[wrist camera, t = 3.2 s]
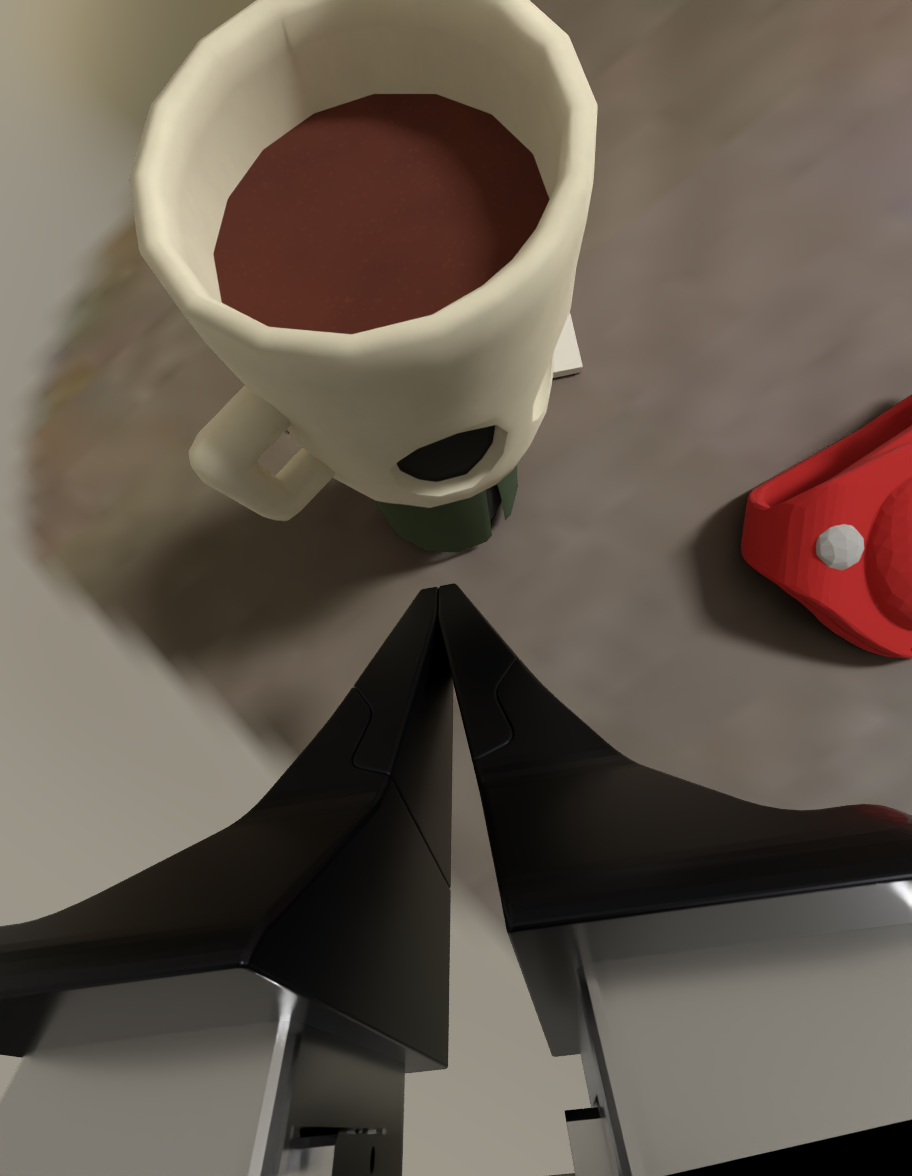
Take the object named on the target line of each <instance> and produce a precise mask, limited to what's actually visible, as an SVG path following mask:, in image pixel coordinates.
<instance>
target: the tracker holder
mask: <svg viewBox="0 0 912 1176" xmlns="http://www.w3.org/2000/svg"><path fill="white" fill-rule="evenodd" d="M741 552H742V555H743V557H744V559H745V561H746V562H747V563H748V564H749V565H750V566H751V567H753V568H754V569H755V570H757V571H758V572H759V573H761V574H762V575H763V576H765V577H766V578H768V579H769V580H771V581H772V582H774V583H776V584H777V585H778V586H779V587H781V588H782V589H783V590H784V591H785V592H786V593H788V594H789V595H791V596H792V597H794V598H795V599H796V600H798V601H799V602H800V603H801V604H803V605H804V606H805V607H806V608H807V609H809V610H810V611H811V612H812V613H813V614H814V615H815V616H816V618H817V619H818V620H819V621H820V622H821V623H822V624H824V625H825V626H826V627H827V628H829V629H830V630H831V631H833V632H834V633H836V634H837V635H839V636H841V637H842V638H844V639H845V640H847V641H849V642H850V643H852V644H854V645H856V646H858V647H860V648H862V649H864V650H866V651H868V652H872V653H875V654H878V655H882V656H887V657H899V658H900V657H902V658H912V395H910V396H909V397H907V398H906V399H904V400H903V401H901V402H900V403H898V404H896V405H895V406H893V407H892V408H890V409H889V410H887V411H886V412H884V413H883V414H881V415H880V416H878V417H877V418H875V419H874V420H872V421H871V422H869V423H868V424H867V425H865V426H864V427H862V428H861V429H859V430H858V431H856V432H854V433H852V434H850V435H849V436H847V437H845V438H843V439H841V440H840V441H838V442H836V443H834V444H833V445H831V446H829V447H827V448H825V449H824V450H822V451H820V452H818V453H816V454H815V455H813V456H811V457H809V458H808V459H806V460H804V461H802V462H800V463H799V464H797V465H795V466H793V467H791V468H790V469H788V470H786V471H784V472H783V473H781V474H779V475H777V476H775V477H774V478H772V479H770V480H768V481H767V482H765V483H763V484H761V485H760V486H758V487H756V488H755V489H753V490H752V491H751V492H750V493H749V495H748V498H747V504H746V512H745V519H744V526H743V534H742V541H741Z"/></svg>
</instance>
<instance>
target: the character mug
mask: <svg viewBox="0 0 912 1176" xmlns="http://www.w3.org/2000/svg"><path fill="white" fill-rule="evenodd" d="M596 124H597V103H596V101H595V98H594V96H593V93H592V91H591V89H590V86H589V84H588V81H587V79H586V76H585V74H584V72H583V69H582V67H581V64H580V62H579V60H578V57H577V55H576V52H575V50H574V48H573V45H572V43H571V40H570V38H569V36H568V35H567V34H566V33H565V32H564V31H563V30H562V29H561V28H559V27H558V26H557V25H556V24H555V23H554V22H553V21H552V20H551V19H549V18H548V17H547V16H546V15H545V14H544V13H543V12H542V11H541V10H539V9H538V8H537V7H536V6H535V5H534V4H533V3H532V2H531V1H529V0H256V1H255V2H253V3H252V4H251V5H249V6H248V7H246V8H245V9H243V10H242V11H241V12H239V13H238V14H236V15H235V16H233V17H232V18H231V19H229V20H228V21H226V22H225V23H223V24H222V25H221V26H219V27H218V28H216V29H215V30H213V31H212V32H210V33H209V34H208V35H206V36H205V37H203V38H202V39H200V40H199V41H198V43H197V44H196V45H195V47H194V48H193V50H192V51H191V52H190V53H189V55H188V56H187V57H186V59H185V60H184V62H183V63H182V64H181V65H180V67H179V68H178V69H177V71H176V72H175V73H174V75H173V76H172V77H171V79H170V80H169V81H168V83H167V84H166V85H165V87H164V88H163V89H162V91H161V92H160V93H159V95H158V96H157V97H156V99H155V100H154V102H153V103H152V104H151V106H150V109H149V113H148V116H147V119H146V123H145V126H144V130H143V133H142V137H141V140H140V144H139V147H138V150H137V154H136V157H135V161H134V164H133V167H132V171H131V174H130V178H129V181H130V188H131V196H132V203H133V210H134V217H135V225H136V232H137V239H138V247H139V252H140V254H141V255H142V257H143V258H144V259H145V261H146V262H147V264H148V265H149V267H150V268H151V269H152V271H153V272H154V274H155V275H156V276H157V278H158V279H159V281H160V282H161V283H162V285H163V286H164V288H165V289H166V291H167V292H168V293H169V295H170V296H171V298H172V299H173V300H174V302H175V303H176V305H177V306H178V307H179V309H180V310H181V312H182V313H183V315H184V316H185V317H186V318H187V320H188V321H189V322H190V323H191V325H192V326H193V327H194V328H195V330H196V331H197V332H198V334H199V335H200V336H201V337H202V339H203V340H204V341H205V342H206V344H207V345H208V346H209V347H210V348H211V349H212V350H213V351H214V352H215V353H216V355H217V356H218V357H219V358H220V359H221V360H222V361H223V362H224V363H225V364H226V365H227V366H228V367H229V368H230V369H231V370H232V372H233V373H234V374H235V375H236V376H237V377H238V378H239V379H240V380H241V381H242V382H243V383H244V384H245V386H244V387H243V388H242V389H241V390H240V391H239V392H238V393H237V394H236V395H235V396H234V397H233V398H232V399H231V400H230V401H229V402H228V403H227V404H226V405H225V406H224V407H223V408H222V409H221V410H220V411H219V412H218V413H217V414H216V415H215V416H214V417H213V419H212V420H211V421H210V422H209V423H208V424H207V425H206V426H205V427H204V428H203V429H202V430H201V431H200V432H199V433H198V435H197V437H196V439H195V441H194V443H193V445H192V447H191V449H190V451H189V458H190V465H191V467H192V468H193V469H194V471H195V472H196V474H197V475H198V476H199V478H200V479H201V480H202V482H204V483H205V484H207V485H209V486H211V487H212V488H214V489H216V490H217V491H219V492H221V493H223V494H224V495H226V496H228V497H230V498H231V499H233V500H235V501H237V502H238V503H240V504H242V505H243V506H245V507H247V508H249V509H250V510H252V511H254V512H256V513H257V514H259V515H261V516H263V517H266V518H269V519H273V520H278V521H288V520H290V519H291V518H292V517H294V516H295V515H296V514H298V513H299V512H301V510H302V509H303V508H304V507H305V506H306V505H307V504H308V503H309V502H310V501H311V500H312V499H313V498H314V497H315V496H316V495H317V493H318V492H319V491H320V490H321V489H322V488H323V487H324V486H325V485H326V484H327V483H328V482H329V481H330V480H331V479H332V478H334V479H336V480H338V481H340V482H341V483H343V484H345V485H347V486H349V487H351V488H353V489H355V490H356V491H358V492H360V493H362V494H364V495H366V496H368V497H370V498H371V499H373V500H375V501H376V503H377V505H378V507H379V509H380V511H381V512H382V513H383V515H384V516H385V518H386V519H387V521H388V522H389V523H390V525H391V526H392V528H393V529H394V531H395V532H396V533H397V535H399V536H400V537H402V538H404V539H406V540H408V541H409V542H411V543H413V544H415V545H416V546H418V547H420V548H422V549H423V550H425V551H438V552H460V551H463V550H466V549H468V548H471V547H473V546H476V545H478V544H481V543H484V542H486V541H487V540H488V539H489V538H490V537H491V536H492V533H491V524H490V519H492V518H493V517H494V515H495V513H496V511H497V509H498V507H499V505H500V503H501V500H502V503H503V509H504V516H505V520H506V519H507V518H508V517H509V516H510V515H511V511H512V507H513V503H514V499H515V495H516V491H517V487H518V484H517V466H516V465H517V463H518V462H519V461H520V459H521V458H522V456H523V455H524V453H525V452H526V451H527V449H528V448H529V446H530V445H531V442H532V440H533V438H534V436H535V434H536V432H537V430H538V428H539V426H540V424H541V422H542V420H543V418H544V416H545V414H546V411H547V406H548V401H549V396H550V390H551V385H552V379H553V369H554V350H555V347H556V345H557V342H558V340H559V337H560V335H561V332H562V329H563V327H564V324H565V322H566V319H567V317H568V314H569V312H570V309H571V303H572V295H573V288H574V280H575V273H576V266H577V261H578V257H579V252H580V248H581V243H582V239H583V234H584V230H585V225H586V220H587V215H588V209H589V203H590V197H591V192H592V186H593V180H594V161H595V142H596ZM286 429H287V430H288V431H289V433H290V434H291V435H292V436H293V437H294V438H295V439H296V440H297V441H298V442H299V443H300V444H301V445H302V446H303V447H302V448H301V449H300V451H299V452H298V453H297V454H296V455H295V456H294V457H293V458H292V459H291V460H290V461H289V462H288V463H287V464H286V465H285V466H284V467H283V468H282V469H281V471H280V472H279V473H278V474H277V475H275V476H274V475H273V474H272V473H270V472H269V471H268V470H267V469H265V468H264V467H263V466H262V465H260V464H259V463H258V462H257V459H258V458H259V457H260V456H261V455H262V454H263V453H264V452H265V451H266V450H267V449H268V448H269V447H270V446H271V445H272V444H273V443H274V442H275V441H276V440H277V439H278V437H279V436H280V435H281V434H282V433H283V432H284V431H285V430H286Z"/></svg>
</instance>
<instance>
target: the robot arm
mask: <svg viewBox="0 0 912 1176" xmlns="http://www.w3.org/2000/svg"><path fill="white" fill-rule="evenodd" d="M453 684H454V688H455V692H456V696H457V700H458V704H459V708H460V712H461V717H462V721H463V725H464V729H465V733H466V737H467V741H468V745H469V749H470V754H471V758H472V762H473V765H474V770H475V774H476V779H477V783H478V787H479V792H480V796H481V801H482V806H483V811H484V816H485V821H486V826H487V831H488V837H489V842H490V847H491V852H492V857H493V862H494V867H495V872H496V877H497V882H498V887H499V892H500V897H501V903H502V908H503V913H504V918H505V924H506V929H507V932H508V935H509V938H510V941H511V944H512V946H513V949H514V952H515V955H516V957H517V960H518V963H519V966H520V968H521V971H522V974H523V977H524V979H525V982H526V984H527V988H528V990H529V993H530V996H531V999H532V1001H533V1004H534V1007H535V1010H536V1012H537V1015H538V1018H539V1021H540V1023H541V1026H542V1029H543V1032H544V1034H545V1037H546V1040H547V1042H548V1045H549V1048H550V1051H551V1054H552V1056H555V1057H557V1056H566V1055H575V1054H581V1059H582V1064H583V1069H584V1074H585V1079H586V1083H587V1088H588V1093H589V1098H590V1103H591V1108H586V1109H576V1110H566V1111H565V1116H566V1122H567V1128H568V1134H569V1140H570V1146H571V1152H572V1158H573V1164H574V1169H575V1173H572V1174H561V1175H551V1176H912V816H911V815H908V814H906V813H903V812H901V811H899V810H896V809H893V808H889V807H886V806H881V805H870V804H859V805H847V806H840V807H833V808H826V809H819V810H788V809H779V808H773V807H767V806H762V805H758V804H755V803H751V802H748V801H744V800H741V799H738V798H735V797H732V796H730V795H727V794H724V793H721V792H718V791H715V790H712V789H709V788H706V787H704V786H701V785H698V784H695V783H692V782H689V781H686V780H683V779H680V778H678V777H675V776H672V775H669V774H666V773H663V772H660V771H657V770H654V769H651V768H649V767H646V766H643V765H640V764H638V763H636V762H634V761H632V760H631V759H629V758H627V757H626V756H624V755H623V754H621V753H620V752H618V751H617V750H616V749H614V748H613V747H612V746H611V745H610V744H608V743H607V742H606V741H605V740H604V739H603V738H601V737H600V736H599V735H598V734H597V733H596V732H595V731H593V730H592V729H591V728H590V727H589V726H588V725H587V724H585V723H584V722H583V721H582V720H581V719H580V718H579V717H578V716H576V715H575V714H574V713H573V712H572V711H571V710H570V709H568V708H567V707H566V706H565V705H564V704H563V703H562V702H560V701H559V700H558V699H557V698H556V697H555V696H554V695H553V694H552V693H551V692H550V691H549V690H548V689H547V688H546V687H544V686H543V685H542V683H541V682H540V681H539V680H538V679H537V678H536V677H535V676H534V675H533V674H532V673H531V671H530V670H529V669H528V668H527V667H526V666H525V665H524V663H523V662H522V661H521V660H520V659H519V658H518V657H517V655H516V654H515V653H514V652H513V651H512V649H511V648H510V647H509V646H508V645H507V644H506V642H505V641H504V640H503V639H502V638H501V636H500V635H499V634H498V633H497V632H496V631H495V629H494V628H493V627H492V626H491V625H490V623H489V622H488V621H487V620H486V619H485V618H484V616H483V615H482V614H481V613H480V612H479V610H478V609H477V608H476V607H475V606H474V605H473V603H472V602H471V601H470V600H469V599H468V597H467V596H466V595H465V594H464V593H463V591H462V590H461V589H460V588H459V587H458V586H457V585H456V584H449V585H443V586H440V587H439V589H438V588H437V587H433V588H427V589H422V590H421V591H420V592H419V593H418V595H417V596H416V597H415V599H414V600H413V602H412V603H411V605H410V606H409V608H408V609H407V610H406V612H405V613H404V615H403V616H402V618H401V619H400V620H399V622H398V623H397V625H396V626H395V628H394V629H393V630H392V632H391V633H390V635H389V636H388V638H387V639H386V640H385V642H384V643H383V645H382V646H381V648H380V649H379V650H378V652H377V653H376V655H375V656H374V658H373V659H372V660H371V662H370V663H369V665H368V666H367V668H366V669H365V670H364V672H363V673H362V675H361V676H360V678H359V679H358V680H357V682H356V683H355V685H354V688H352V689H351V690H350V692H349V693H348V694H347V696H346V697H345V699H344V700H343V702H342V703H341V704H340V706H339V707H338V708H337V710H336V711H335V712H334V714H333V715H332V716H331V718H330V719H329V720H328V722H327V723H326V724H325V725H324V727H323V728H322V729H321V730H320V731H319V733H318V734H317V735H316V736H315V738H314V739H313V740H312V741H311V742H310V744H309V745H308V746H307V747H306V748H305V749H304V751H303V752H302V753H301V754H300V755H299V756H298V758H297V759H296V760H295V761H294V762H293V763H292V765H291V766H290V767H289V768H288V769H287V770H286V772H285V773H284V774H283V775H282V776H281V777H280V779H279V780H278V781H277V782H276V783H275V784H274V786H273V787H272V788H271V789H270V790H269V791H268V793H267V794H266V795H265V796H264V797H263V798H262V799H261V800H260V801H259V802H258V804H256V805H255V806H254V807H253V808H252V809H251V810H250V811H249V812H248V813H247V814H245V815H244V816H243V817H242V818H241V819H239V820H238V821H236V822H235V823H233V824H232V825H230V826H229V827H227V828H225V829H223V830H221V831H220V832H218V833H216V834H214V835H212V836H210V837H208V838H206V839H204V840H202V841H200V842H198V843H196V844H194V845H192V846H191V847H188V848H186V849H184V850H182V851H181V852H179V853H177V854H175V855H173V856H171V857H169V858H167V859H165V860H163V861H161V862H159V863H157V864H155V865H153V866H151V867H149V868H147V869H146V870H143V871H142V872H140V873H138V874H136V875H134V876H132V877H130V878H128V879H126V880H124V881H122V882H120V883H118V884H116V885H114V886H112V887H110V888H108V889H106V890H104V891H102V892H100V893H98V894H97V895H94V896H92V897H90V898H88V899H86V900H84V901H82V902H80V903H78V904H75V905H73V906H71V907H68V908H66V909H64V910H61V911H59V912H57V913H54V914H51V915H48V916H45V917H42V918H40V919H37V920H33V921H29V922H24V923H20V924H13V925H6V926H0V1055H8V1056H16V1057H22V1060H21V1062H20V1063H19V1065H18V1067H17V1069H16V1071H15V1073H14V1075H13V1076H12V1078H11V1080H10V1082H9V1084H8V1086H7V1088H6V1090H5V1092H4V1093H3V1095H2V1097H1V1099H0V1176H402V1157H403V1123H404V1087H405V1073H413V1072H422V1071H431V1070H439V1069H446V1068H447V1067H448V1030H449V1029H448V1028H449V962H450V961H449V960H450V956H449V955H450V894H451V891H450V889H449V888H450V886H451V815H452V744H453Z"/></svg>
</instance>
